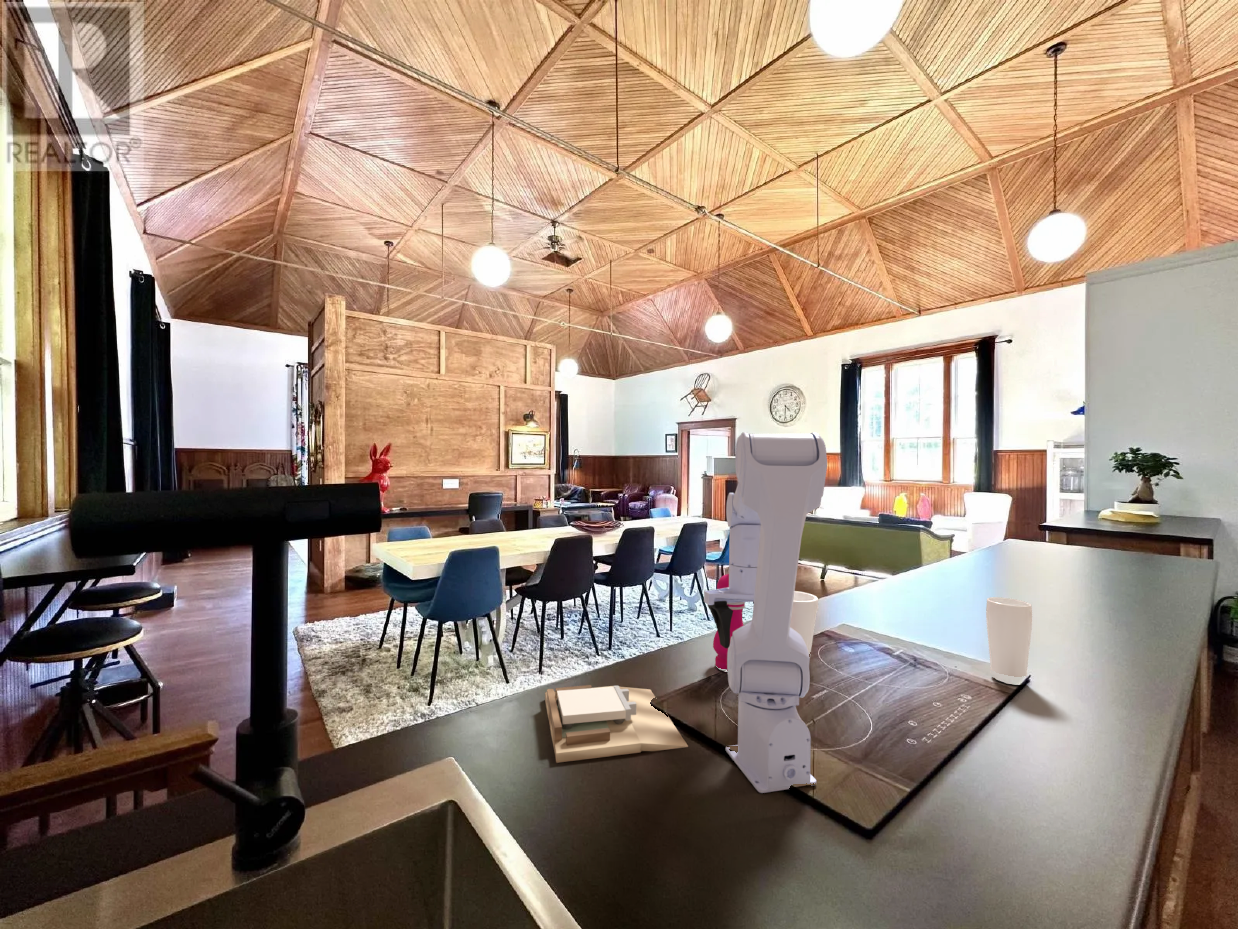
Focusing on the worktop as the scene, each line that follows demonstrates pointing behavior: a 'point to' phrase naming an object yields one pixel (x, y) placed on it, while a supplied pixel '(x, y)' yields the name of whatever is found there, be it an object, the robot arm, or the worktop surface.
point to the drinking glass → (1009, 635)
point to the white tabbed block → (594, 705)
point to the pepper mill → (735, 624)
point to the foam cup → (804, 616)
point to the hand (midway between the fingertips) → (745, 644)
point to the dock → (612, 730)
